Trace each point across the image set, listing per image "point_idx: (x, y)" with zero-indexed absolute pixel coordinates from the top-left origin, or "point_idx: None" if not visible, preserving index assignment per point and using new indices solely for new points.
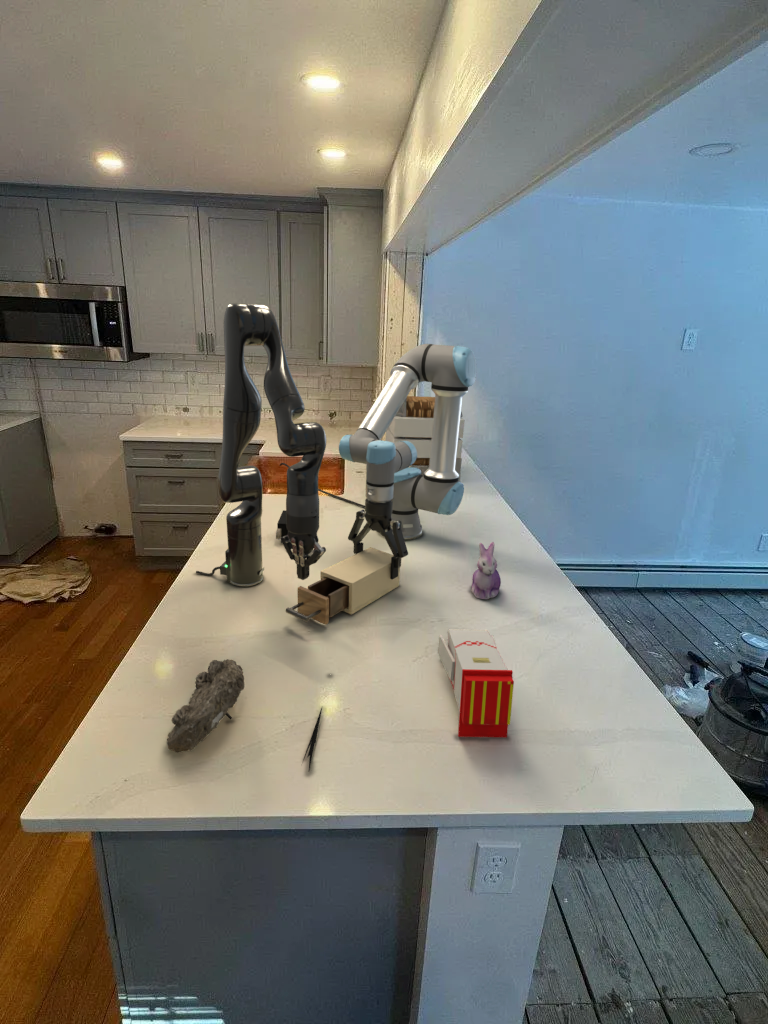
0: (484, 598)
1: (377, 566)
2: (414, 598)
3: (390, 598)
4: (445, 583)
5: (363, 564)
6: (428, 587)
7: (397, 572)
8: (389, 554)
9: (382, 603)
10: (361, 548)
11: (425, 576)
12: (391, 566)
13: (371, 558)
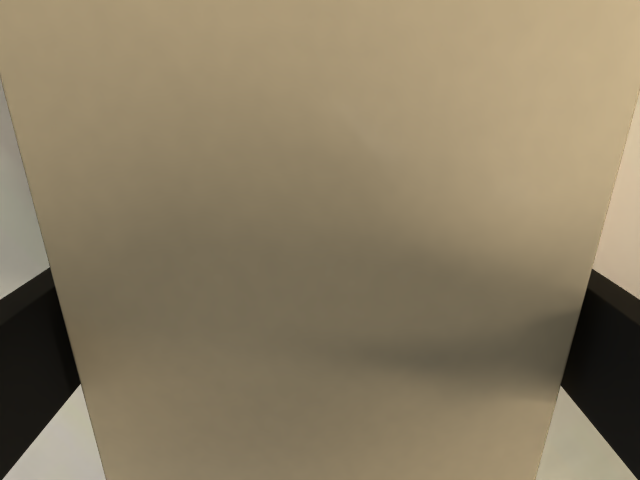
0: None
1: (84, 116)
2: (29, 245)
3: None
4: (60, 469)
5: (290, 14)
6: (82, 392)
7: None
8: (244, 475)
9: None
10: (603, 394)
11: None
12: (42, 288)
13: (335, 273)
